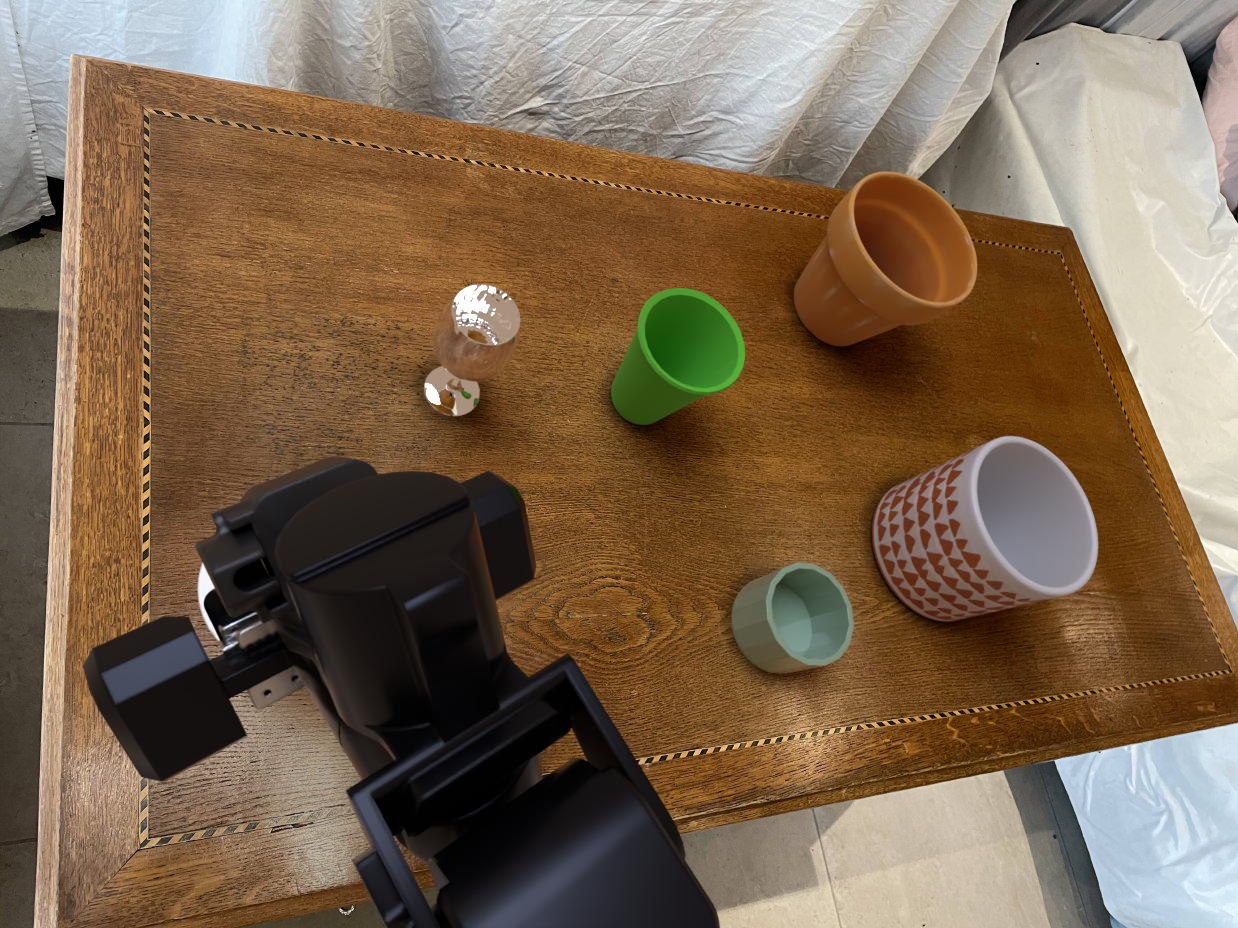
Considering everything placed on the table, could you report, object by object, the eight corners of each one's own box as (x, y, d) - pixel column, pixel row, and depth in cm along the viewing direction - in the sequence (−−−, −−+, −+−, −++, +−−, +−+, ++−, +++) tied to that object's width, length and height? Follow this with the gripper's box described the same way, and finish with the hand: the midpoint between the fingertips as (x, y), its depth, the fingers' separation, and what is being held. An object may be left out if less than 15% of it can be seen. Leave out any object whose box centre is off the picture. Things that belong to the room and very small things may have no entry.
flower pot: (905, 358, 83) (1002, 294, 72) (806, 383, 77) (896, 316, 66) (849, 245, 86) (934, 165, 75) (748, 259, 80) (825, 175, 69)
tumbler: (817, 675, 66) (859, 667, 61) (734, 672, 63) (771, 663, 58) (808, 581, 69) (847, 566, 64) (728, 574, 66) (762, 558, 61)
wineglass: (477, 354, 64) (515, 274, 54) (496, 418, 63) (538, 348, 53) (407, 362, 62) (433, 279, 52) (424, 429, 60) (454, 357, 50)
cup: (595, 340, 69) (646, 271, 60) (687, 370, 72) (749, 309, 62) (581, 430, 66) (632, 372, 56) (678, 459, 68) (743, 408, 59)
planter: (979, 643, 74) (1101, 620, 63) (859, 590, 71) (966, 556, 60) (987, 515, 80) (1100, 473, 69) (877, 461, 77) (977, 409, 66)
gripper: (584, 435, 31) (411, 335, 42) (34, 684, 21) (-2, 473, 32) (611, 643, 36) (453, 508, 47) (187, 910, 27) (112, 666, 38)
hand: (283, 533), depth 41 cm, fingers closed on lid, 2 cm apart
